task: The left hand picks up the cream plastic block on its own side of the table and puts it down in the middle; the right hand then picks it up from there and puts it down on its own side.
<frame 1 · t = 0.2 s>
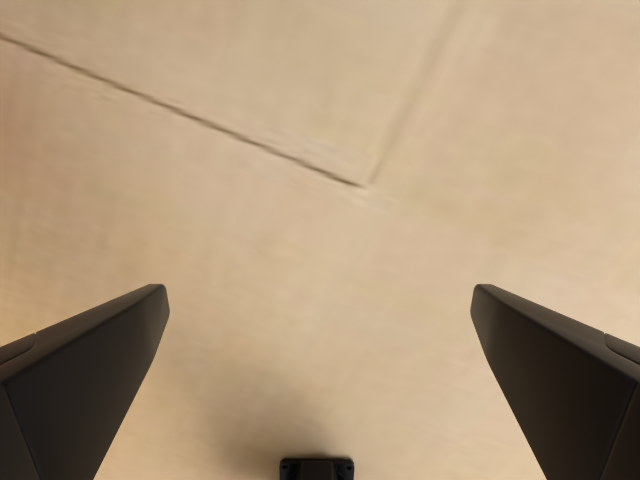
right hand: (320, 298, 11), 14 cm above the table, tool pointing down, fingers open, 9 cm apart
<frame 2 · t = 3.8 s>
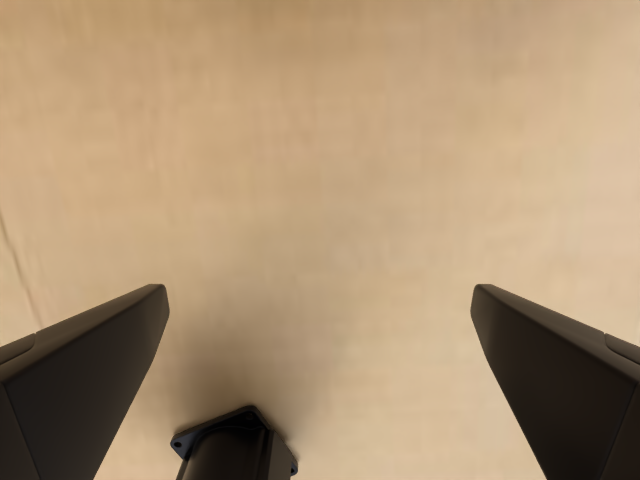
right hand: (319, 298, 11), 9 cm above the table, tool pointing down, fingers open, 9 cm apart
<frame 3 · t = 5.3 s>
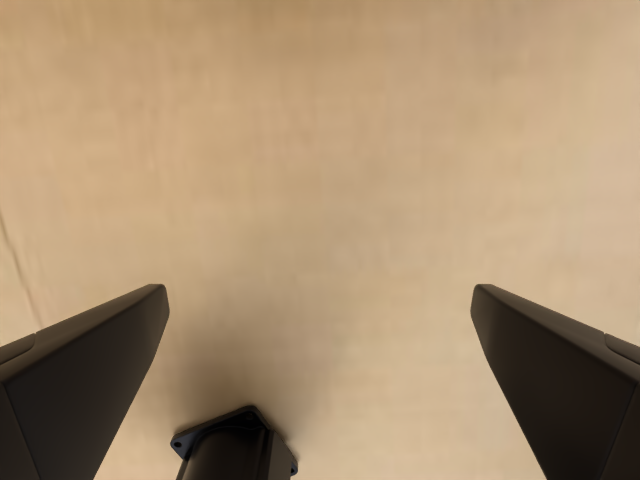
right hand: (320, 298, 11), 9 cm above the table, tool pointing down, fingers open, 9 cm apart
when the left hand's fingers open (1 cm above the table, at t = 7.2 s): block stays where it is, on the table.
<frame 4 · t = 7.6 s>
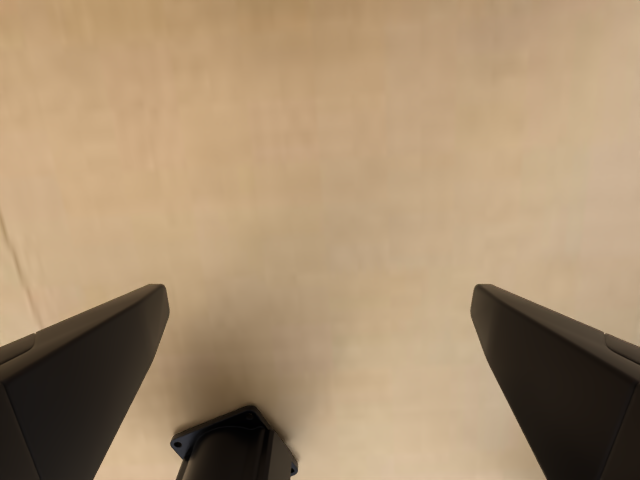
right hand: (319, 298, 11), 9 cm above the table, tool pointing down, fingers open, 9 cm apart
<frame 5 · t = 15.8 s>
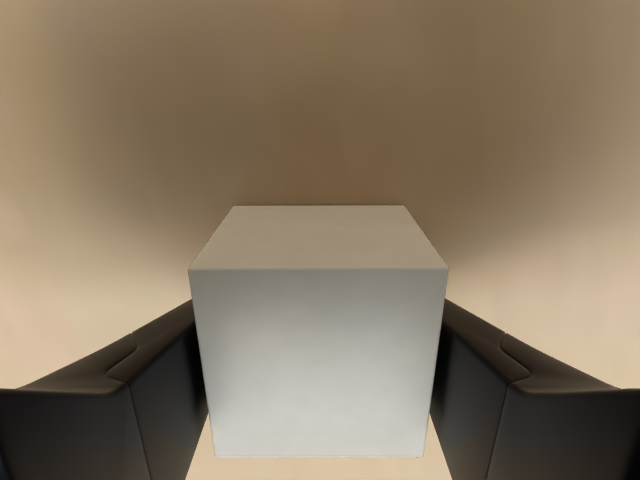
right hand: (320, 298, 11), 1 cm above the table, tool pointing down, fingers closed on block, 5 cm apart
block: (319, 281, 12), on the table, touching right hand
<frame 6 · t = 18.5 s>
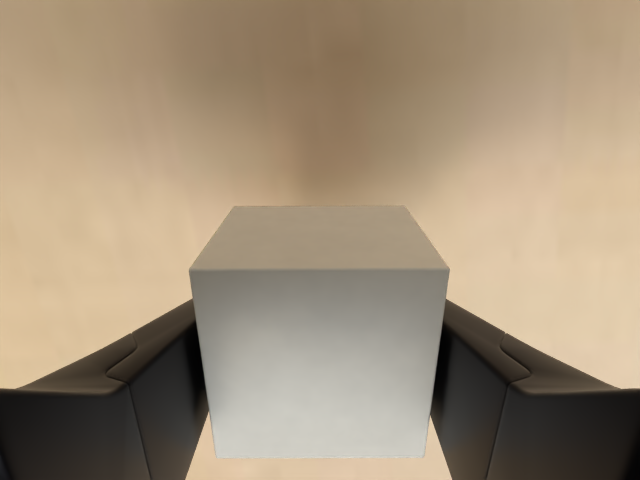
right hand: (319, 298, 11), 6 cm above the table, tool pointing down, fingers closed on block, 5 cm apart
block: (319, 282, 12), point 5 cm above the table, touching right hand
when the right hand's fingers open (2 cm above the table, at t = 21.5 s): block drops 1 cm, on the table.
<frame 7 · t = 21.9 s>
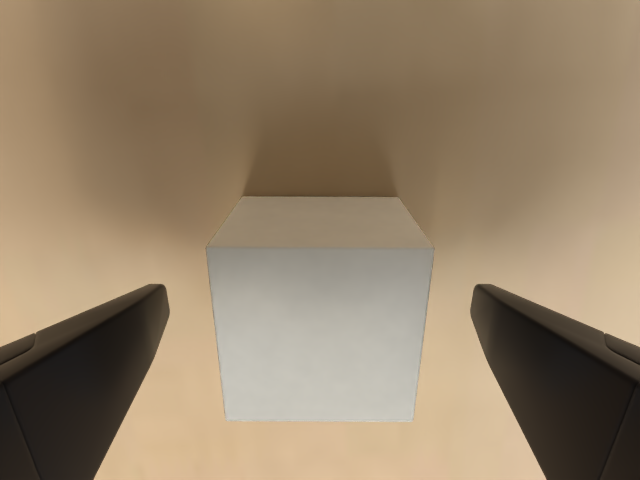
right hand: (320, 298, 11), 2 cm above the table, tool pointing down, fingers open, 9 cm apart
block: (319, 267, 13), on the table
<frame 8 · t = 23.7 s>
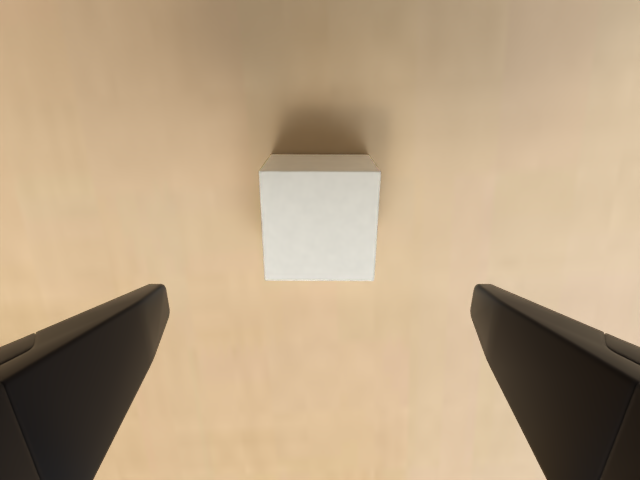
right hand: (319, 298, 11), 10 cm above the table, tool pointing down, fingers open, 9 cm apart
block: (319, 202, 20), on the table
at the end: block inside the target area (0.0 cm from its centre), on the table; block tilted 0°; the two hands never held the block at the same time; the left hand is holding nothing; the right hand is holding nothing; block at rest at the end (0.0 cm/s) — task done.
